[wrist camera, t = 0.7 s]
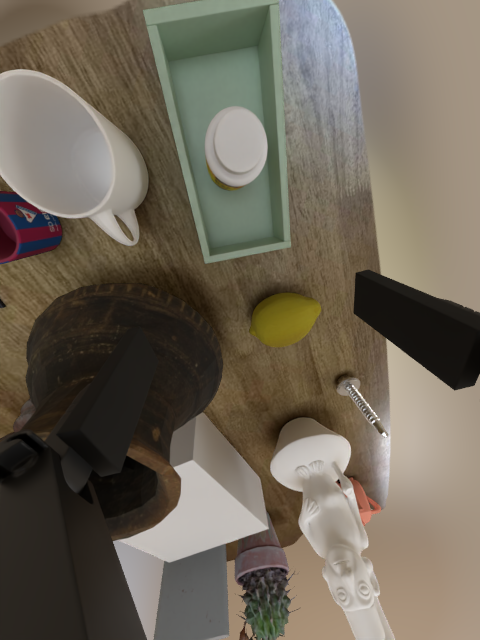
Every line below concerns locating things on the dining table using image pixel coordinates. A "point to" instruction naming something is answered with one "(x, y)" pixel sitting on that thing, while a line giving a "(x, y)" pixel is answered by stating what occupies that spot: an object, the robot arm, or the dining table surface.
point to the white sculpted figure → (332, 520)
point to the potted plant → (263, 583)
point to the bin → (215, 95)
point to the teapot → (363, 502)
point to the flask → (194, 598)
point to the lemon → (284, 319)
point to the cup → (25, 229)
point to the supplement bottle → (235, 148)
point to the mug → (68, 154)
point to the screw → (359, 401)
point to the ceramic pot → (162, 399)
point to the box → (205, 496)
